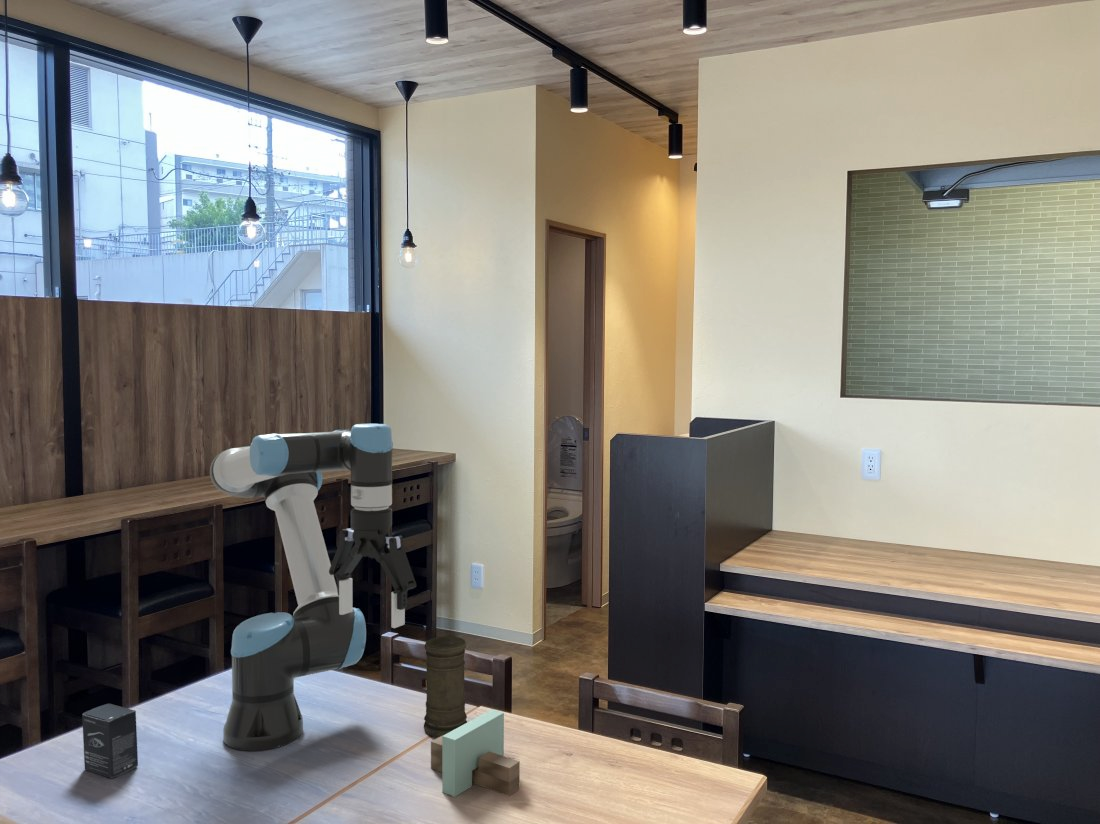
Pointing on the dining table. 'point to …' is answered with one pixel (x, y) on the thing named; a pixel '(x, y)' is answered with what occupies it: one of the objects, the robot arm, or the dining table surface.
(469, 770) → the plate
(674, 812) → the dining table surface
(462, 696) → the container
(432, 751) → the slotted rail
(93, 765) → the box
